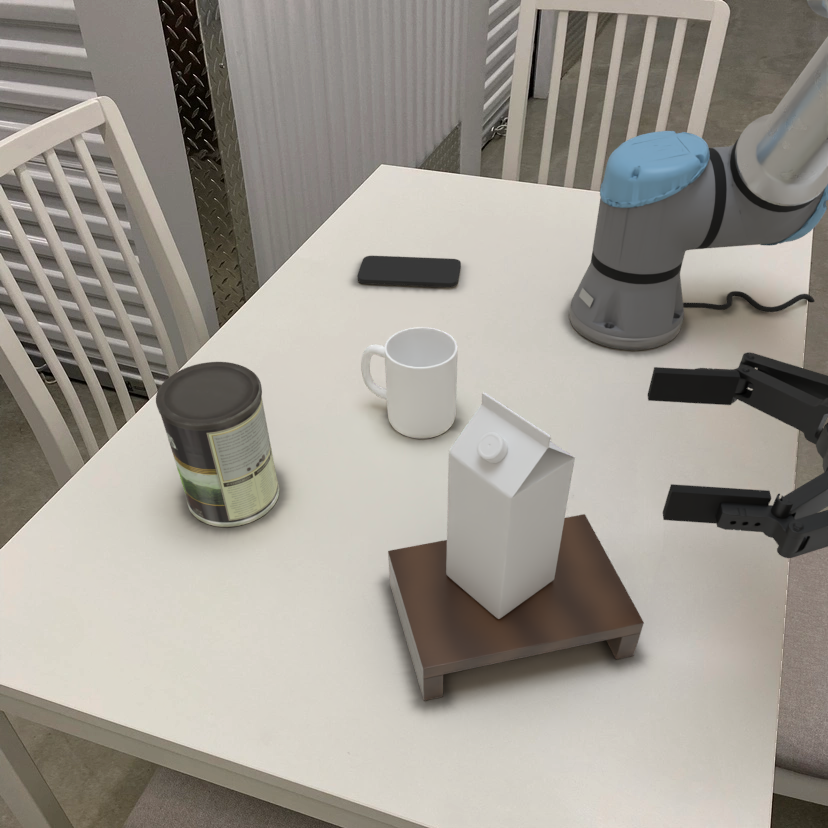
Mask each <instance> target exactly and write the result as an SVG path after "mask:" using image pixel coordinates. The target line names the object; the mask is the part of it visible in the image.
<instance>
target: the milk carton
mask: <svg viewBox="0 0 828 828" xmlns="http://www.w3.org/2000/svg"><path fill="white" fill-rule="evenodd" d="M551 438H552V437H551V435H550V434H549V433H547V432H546V431H544V430H543V429H541V428H540V427H538V426H537V425H535V424H534V423H532V422H531V421H529V420H528V419H527V418H525V417H523V416H521V414H518V413H517V412H515V411H514V410H512V409H511V408H509V406H506V405H505V404H503V403H502V402H500V401H499V400H498V399H496V398H494V397H493V396H491V395H490V394H489V393H487V392H485V391H483V392H482V393H481V403H480V405H479V406H478V408H477V409H476V411H475V412H474V414H473V415H472V416H471V418H470V420H469V421H468V422H467V424H466V425H465V427H464V428H463V430H462V431H461V432H460V434H459V435H458V437H457V438H456V439H455V441H454V442H453V443H452V445H451V447H450V448H449V450H448V462H447V463H448V464H447V465H448V467H447V468H448V469H447V514H446V515H447V516H446V518H447V519H446V540H447V559H446V574H447V576H448V577H449V578H451V579H452V580H453V581H454V582H455V583H456V584H458V585H459V586H460V587H461V588H462V589H463V590H465V591H466V592H467V593H468V594H469V595H470V596H472V597H473V598H474V599H475V600H476V601H477V602H479V603H480V604H481V605H482V606H483V607H484V608H486V609H487V610H488V611H489V612H490V613H491V614H493V615H494V616H495V617H496V618H498V619H500V618H502V617H503V616H504V615H506V614H507V613H509V612H510V611H511V610H513V609H514V608H516V607H517V606H518V605H520V604H521V603H523V602H524V601H525V600H527V599H528V598H529V597H531V596H532V595H534V594H535V593H536V592H538V591H539V590H541V589H542V588H543V587H545V586H546V585H547V584H549V583H550V582H552V581H553V580H554V577H555V572H556V566H557V560H558V554H559V548H560V542H561V536H562V531H563V525H564V519H565V518H566V512H567V506H568V501H569V495H570V490H571V488H570V487H571V482H572V478H573V471H574V465H575V460H576V457H575V456H574V455H572V454H571V453H570V452H568V451H567V450H565V449H564V448H562V447H560V445H558V444H556V443H555V442H553V441H552V440H551Z"/></svg>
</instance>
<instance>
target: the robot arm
mask: <svg viewBox="0 0 828 828" xmlns="http://www.w3.org/2000/svg"><path fill="white" fill-rule="evenodd" d="M806 3H807V6H808V7H809V8H810V9H811V11H813V12H814V13H815V14H816V15H818V16H820V17H822V18H825V19H828V0H806ZM599 196H600V197H599V204H598V205H599V206H598V212H597V218H596V224H595V231H594V232H595V233H594V238H593V244H592V253H591V257H590V262H589V265H588V267H587V269H586V271H585V273H584V274H583V277H582V278H581V280H580V283H579V285H578V286H577V288H576V290H575V292H574V294H573V296H572V298H571V301H570V307H569V314H568V315H569V321H570V324H571V325H572V327H573V329H574V330H575V331H576V332H577V333H578V334H580V335H581V336H582V337H584V338H585V339H587V340H588V341H591V342H592V343H595V344H598V345H601V346H604V347H608V348H611V349H616V350H623V351H624V350H626V351H642V350H643V351H644V350H649V349H650V350H651V349H655V348H658V347H661V346H664V345H666V344H668V343H670V342H671V341H673V340H674V339H675V338H676V337H677V336H678V335H679V333H680V331H681V329H682V325H683V321H684V316H685V310H684V309H706V310H707V309H708V310H715V311H716V310H717V311H724V310H728V309H730V308H731V307H732V304H733V297H737V298H741V299H743V300H744V301H746V303H748V304H749V305H750V306H752V308H753V309H755V310H757V311H760V312H764V313H777V312H782V311H783V310H786V309H787V308H789V307H792V306H793V305H794V304H797V303H798V302H800V301H801V300H806V301H807V302H808V303H814V302H815V299H814V298H813V296H812V295H810V294H808V293H801V294H798V295H796V296H794V297H792V298H791V299H789V300H788V301H786V302H784V303H782V304H780V305H777V306H765V305H762V304H760V303H758V302H757V301H756V300H755V299H754V298H753V297H751V296H750V295H749V294H747V293H746V292H743V291H738V290H733V291H730V292H729V293H727V294H726V302H725V303H723V304H718V303H717V304H715V303H708V302H686V301H685V302H684V299H683V290H682V281H681V271H682V266H683V262H684V258H685V254H686V251H687V252H688V251H693V250H704V249H713V248H714V249H716V248H732V247H745V246H758V245H759V246H767V247H768V246H776V245H779V244H780V245H781V244H784V243H789V242H793V241H797V240H799V239H801V238H803V237H805V236H807V235H808V234H809V233H811V231H813V230H814V228H816V226H818V224H819V223H820V221H821V220H822V218H823V217H824V215H825V213H826V212H827V209H828V207H827V201H828V36H827V37H826V38H825V39H824V40H823V42H822V43H821V45H820V46H819V47H818V49H817V51H816V52H815V53H814V55H813V56H812V57H811V58H810V60H809V62H807V65H805V67H804V68H803V70H802V71H801V72H800V74H799V75H798V77H797V78H796V79H795V81H794V82H793V84H792V85H791V86H790V88H789V89H788V91H787V92H786V93H785V95H784V96H783V97H782V99H781V100H780V101H779V103H778V104H777V105H776V107H775V109H774V110H773V111H772V113H767V114H764V115H762V116H759V117H758V118H755V119H754V120H753V121H751V122H750V123H749V124H748V125H747V126H746V127H745V128H744V129H743V131H742V132H741V134H740V135H739V137H737V139H736V140H735V142H734V144H732V145H730V146H729V145H728V146H714V147H709V145H708V143H707V142H706V140H705V139H704V138H702V137H701V136H699V135H697V134H695V133H691V132H687V131H686V132H685V131H681V132H677V133H676V131H675V130H661V131H653V132H648V133H647V132H646V133H644V134H639V135H636V136H634V137H632V138H629V139H627V140H626V141H624V142H622V143H621V144H620V145H619V146H618V147H617V148H615V149H614V150H613V151H612V153H610V155H609V157H608V159H607V162H606V165H605V171H604V176H603V179H602V182H601V184H600V189H599ZM737 400H738V401H739V402H742V403H744V404H746V405H747V406H750V407H752V408H753V409H755V410H758V411H760V412H762V413H764V414H766V415H768V416H770V417H772V418H774V419H776V420H777V421H780V422H782V423H784V424H785V425H788V426H789V427H792V428H794V429H796V430H798V431H799V432H802V434H803V436H804V439H805V440H806V441H808V442H809V443H811V444H813V445H815V448H816V451H817V453H818V455H819V456H820V457H821V459H822V469H823V472H822V473H821V474H819V475H817V476H816V477H814V478H812V479H810V480H809V481H807V482H806V483H804V484H802V485H801V486H798V487H797V488H795V489H794V490H792V491H790V492H789V493H786V495H784V496H783V495H781V493H778V494H777V495H776V497H775V499H774V501H773V503H772V505H771V504H770V503H771V500H772V495H771V492H770V491H771V490H768V489H767V490H765V489H752V488H751V489H749V488H736V487H735V488H733V487H720V486H719V487H718V486H706V485H705V486H704V485H703V486H702V485H688V484H687V485H686V484H674V483H673V484H672V483H671V484H670V486H669V489H668V492H667V495H666V498H665V499H666V500H665V503H664V506H663V509H662V518H663V519H662V520H663V521H671V522H672V521H673V522H688V523H703V524H716V528H719V529H723V530H726V531H741V532H756V533H762V534H763V535H765V536H766V537H768V538H771V539H773V540H774V542H775V544H777V545H778V546H777V548H776V552H777V554H778V555H779V556H781V557H782V558H784V559H793V558H796V557H799V556H803V555H806V554H809V553H813V552H815V551H818V550H822V549H826V548H828V509H826V508H828V422H827V420H828V375H827V374H824V373H821V372H817V371H813V370H812V369H811V370H810V369H807V368H805V367H804V368H803V367H801V366H798V365H794V364H791V363H788V362H784V361H781V360H777V359H774V358H772V357H767V356H765V355H761V354H758V353H755V352H751V351H750V352H744V353H743V354H742V357H741V360H740V362H739V364H738V367H735V368H733V369H729V368H712V367H711V368H710V367H709V368H707V367H698V368H678V367H677V368H675V367H661V366H660V367H658V366H654V367H653V371H652V375H651V379H650V383H649V387H648V391H647V401H648V402H649V401H650V402H667V403H668V402H669V403H682V404H683V403H685V404H702V405H703V404H704V405H721V406H732V404H734V403H735V402H737ZM780 496H781V497H780ZM824 509H826V510H824Z"/></svg>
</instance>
